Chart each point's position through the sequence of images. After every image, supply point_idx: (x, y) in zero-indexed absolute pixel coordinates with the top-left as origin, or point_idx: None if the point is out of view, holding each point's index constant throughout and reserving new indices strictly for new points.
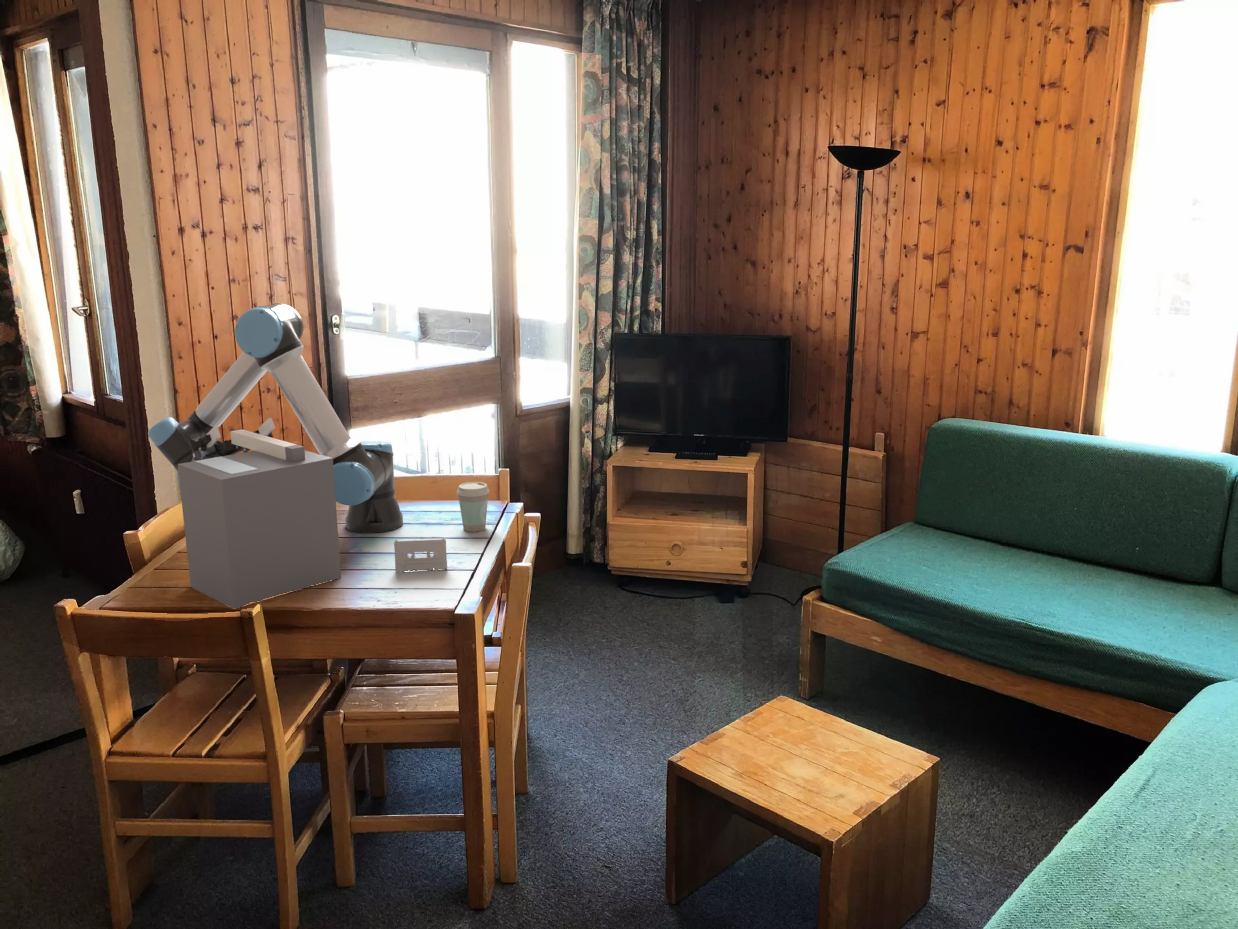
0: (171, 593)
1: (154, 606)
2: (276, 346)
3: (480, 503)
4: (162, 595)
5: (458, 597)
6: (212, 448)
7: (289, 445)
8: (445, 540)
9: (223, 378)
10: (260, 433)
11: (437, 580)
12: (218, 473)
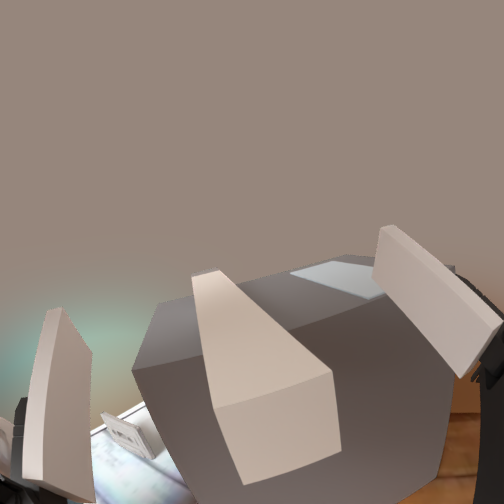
0: (457, 457)
1: (462, 422)
2: None
3: None
4: (467, 450)
5: None
6: (485, 478)
7: (206, 274)
8: (103, 412)
9: None
10: (74, 485)
11: (144, 426)
12: (353, 260)
